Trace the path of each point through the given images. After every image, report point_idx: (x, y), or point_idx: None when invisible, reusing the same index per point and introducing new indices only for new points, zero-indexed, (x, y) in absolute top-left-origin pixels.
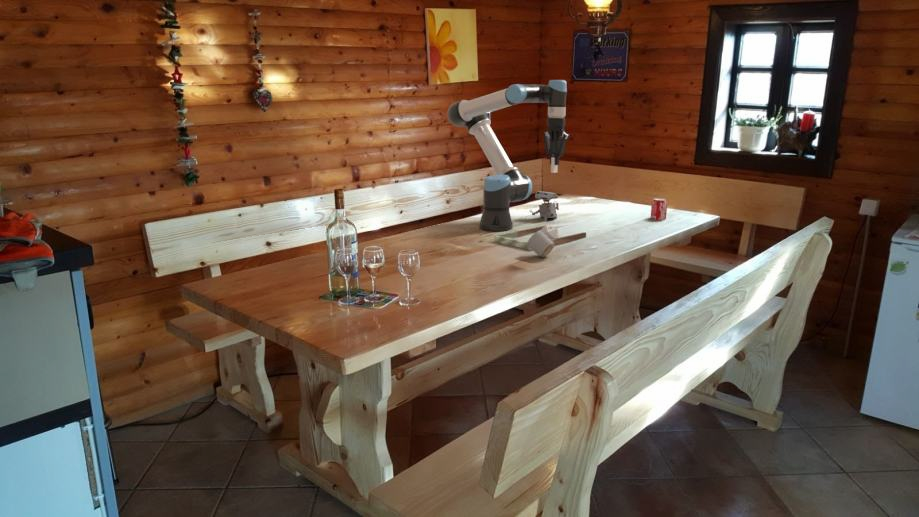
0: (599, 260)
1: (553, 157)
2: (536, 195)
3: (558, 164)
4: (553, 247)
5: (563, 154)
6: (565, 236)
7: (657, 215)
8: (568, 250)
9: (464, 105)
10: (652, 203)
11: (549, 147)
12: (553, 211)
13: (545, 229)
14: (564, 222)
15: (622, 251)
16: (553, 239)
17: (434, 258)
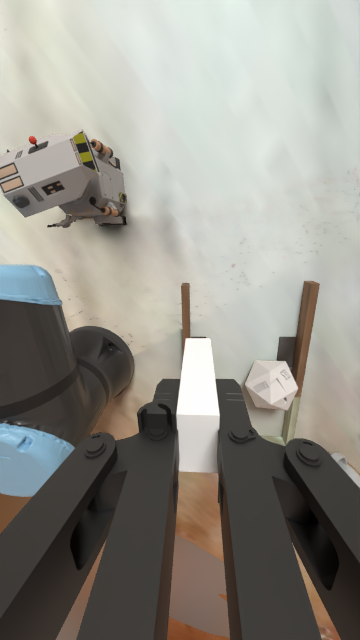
0: None
1: (193, 458)
2: (30, 214)
3: (236, 385)
4: (354, 468)
5: (335, 461)
6: (301, 358)
7: None
8: (340, 400)
9: None
10: None
11: (47, 605)
12: (114, 184)
13: (276, 407)
14: (126, 131)
15: None
16: (297, 398)
17: (209, 544)
